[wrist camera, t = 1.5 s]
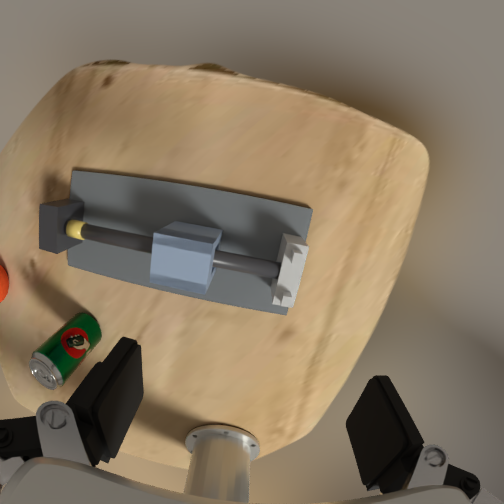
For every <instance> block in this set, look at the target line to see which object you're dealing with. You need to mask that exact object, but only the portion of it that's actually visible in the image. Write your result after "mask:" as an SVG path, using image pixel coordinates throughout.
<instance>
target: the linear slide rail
mask: <svg viewBox="0 0 504 504" xmlns="http://www.w3.org/2000/svg"><path fill="white" fill-rule="evenodd" d="M312 212H313V209H311V208H306V207H302V206H297V205H293V204H288V203H283V202H279V201H274V200H269V199H264V198H259V197H254V196H249V195H244V194H239V193H233V192H228V191H222V190H217V189H211V188H205V187H199V186H193V185H187V184H181V183H174V182H168V181H161V180H154V179H146V178H139V177H131V176H123V175H115V174H106V173H97V172H87V171H73V172H72V180H71V189H70V198H69V199H63V200H58V201H52V202H47V203H42V204H40V210H39V249H42V250H46V251H49V252H52V253H56V254H58V253H60V252H62V251H65V250H67V249H68V265H69V266H72V267H75V268H79V269H82V270H86V271H89V272H93V273H96V274H100V275H103V276H107V277H111V278H114V279H118V280H122V281H126V282H130V283H134V284H138V285H142V286H146V287H150V288H154V289H158V290H162V291H166V292H171V293H175V294H180V295H184V296H189V297H193V298H198V299H202V300H207V301H212V302H217V303H222V304H227V305H232V306H237V307H242V308H248V309H253V310H259V311H264V312H270V313H276V314H282V315H287V311H288V307H293V306H294V302H295V298H296V295H297V291H298V288H299V284H300V280H301V276H302V273H303V269H304V265H305V261H306V257H307V253H308V249H309V246H308V245H307V243H306V238H307V234H308V229H309V225H310V221H311V217H312ZM174 221H179V222H184V223H189V224H195V225H200V226H205V227H210V228H216V229H221V230H223V232H222V238H221V243H220V249H219V250H215V254H214V260H213V266H212V267H216V272H215V274H214V276H213V278H212V281H211V283H210V285H209V287H208V290H207V292H206V294H205V295H204V294H199V293H194V292H190V291H185V290H180V289H176V288H172V287H167V286H163V285H159V284H154V283H150V268H151V256H152V245H153V236H154V232H156V231H158V230H160V229H161V228H163V227H165V226H167V225H169V224H171V223H173V222H174Z"/></svg>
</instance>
